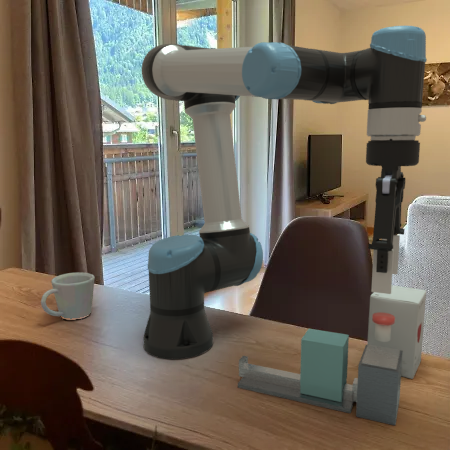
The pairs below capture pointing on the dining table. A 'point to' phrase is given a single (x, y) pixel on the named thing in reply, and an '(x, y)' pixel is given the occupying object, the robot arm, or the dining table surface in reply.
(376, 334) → the plunger
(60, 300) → the mug
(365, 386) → the grey button housing
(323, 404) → the rail
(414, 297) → the supplement box
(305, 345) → the carriage
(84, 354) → the dining table surface
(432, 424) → the dining table surface
